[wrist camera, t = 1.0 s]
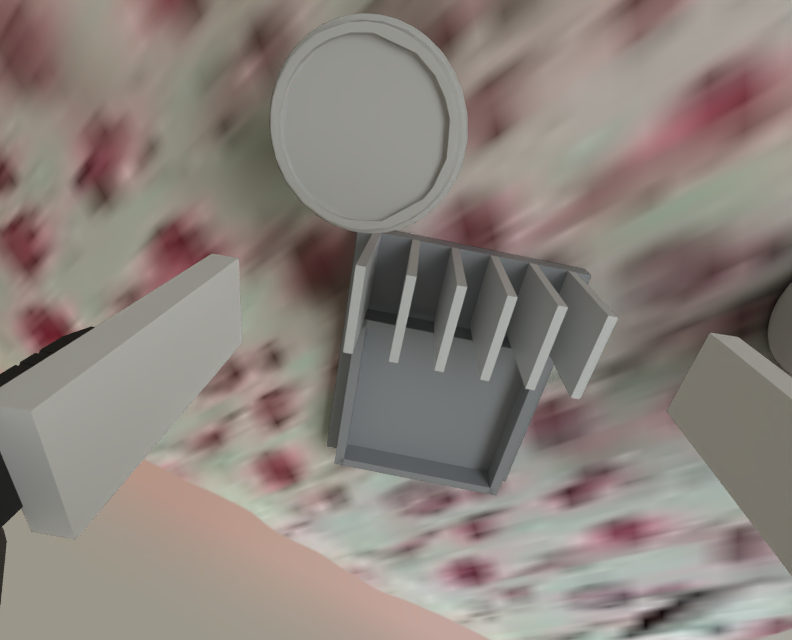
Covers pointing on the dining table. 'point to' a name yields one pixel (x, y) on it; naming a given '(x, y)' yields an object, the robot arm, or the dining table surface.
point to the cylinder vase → (782, 330)
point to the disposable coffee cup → (368, 123)
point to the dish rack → (455, 356)
